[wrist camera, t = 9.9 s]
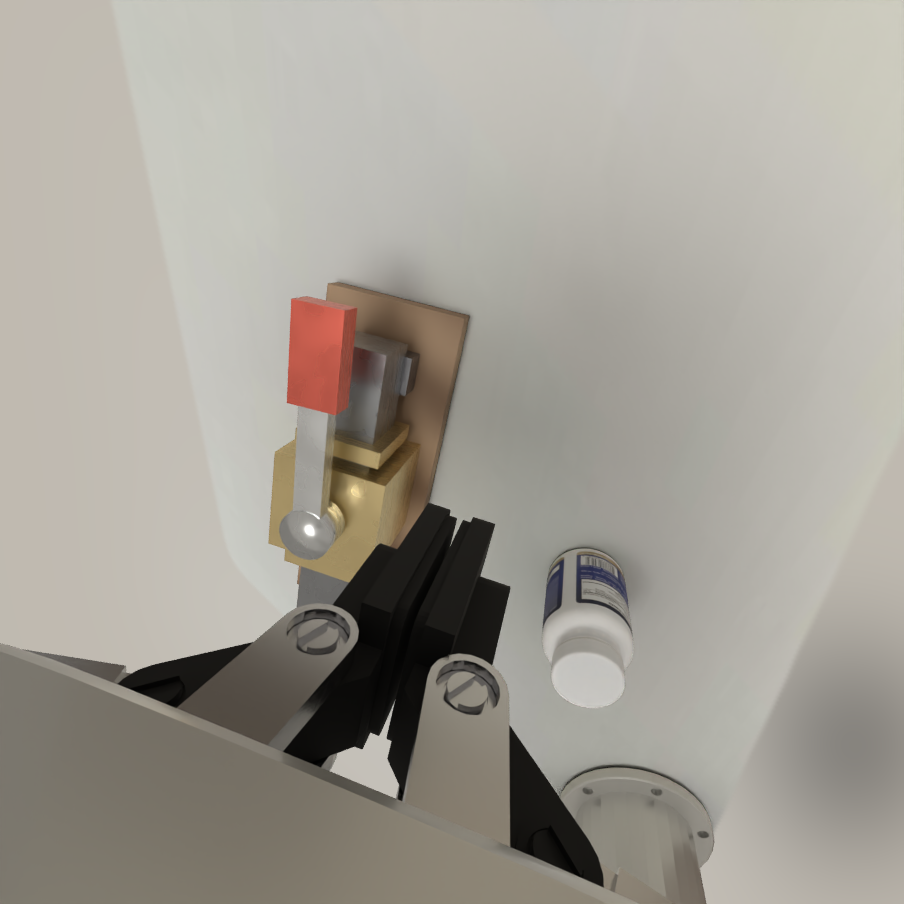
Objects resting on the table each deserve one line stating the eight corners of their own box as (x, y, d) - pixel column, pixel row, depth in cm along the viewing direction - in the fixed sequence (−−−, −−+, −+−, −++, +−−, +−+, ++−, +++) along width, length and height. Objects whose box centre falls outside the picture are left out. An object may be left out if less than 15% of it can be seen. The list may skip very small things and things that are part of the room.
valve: (390, 595, 39) (355, 658, 33) (311, 568, 40) (262, 625, 34) (440, 346, 31) (406, 369, 25) (340, 319, 32) (282, 335, 26)
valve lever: (342, 547, 30) (326, 567, 28) (296, 533, 30) (277, 552, 28) (367, 306, 24) (349, 311, 22) (310, 294, 25) (287, 297, 23)
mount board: (405, 607, 41) (399, 619, 40) (306, 573, 43) (297, 583, 41) (469, 315, 32) (464, 318, 30) (338, 282, 33) (327, 283, 32)
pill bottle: (568, 617, 38) (563, 727, 29) (535, 560, 37) (520, 656, 28) (638, 596, 36) (655, 708, 27) (605, 535, 35) (612, 630, 26)
